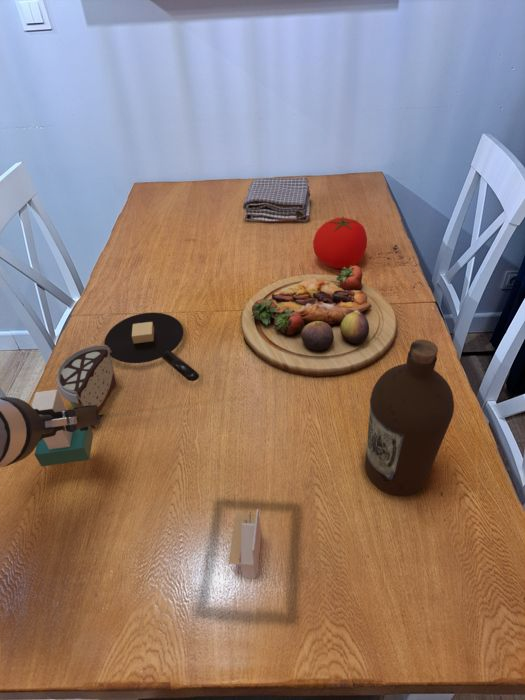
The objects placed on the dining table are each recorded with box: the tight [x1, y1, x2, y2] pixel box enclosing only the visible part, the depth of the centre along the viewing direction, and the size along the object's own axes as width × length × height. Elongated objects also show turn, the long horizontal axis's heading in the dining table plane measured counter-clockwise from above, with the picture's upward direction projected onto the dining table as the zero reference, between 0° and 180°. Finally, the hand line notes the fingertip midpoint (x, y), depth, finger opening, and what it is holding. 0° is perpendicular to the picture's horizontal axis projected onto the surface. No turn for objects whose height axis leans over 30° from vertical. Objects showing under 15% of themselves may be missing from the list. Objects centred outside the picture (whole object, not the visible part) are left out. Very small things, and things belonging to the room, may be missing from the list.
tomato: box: [312, 216, 368, 270], centre depth 116 cm, size 12×13×11 cm
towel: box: [242, 177, 311, 223], centre depth 139 cm, size 15×18×8 cm
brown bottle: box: [364, 339, 455, 497], centre depth 67 cm, size 11×11×25 cm
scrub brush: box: [31, 389, 94, 467], centre depth 71 cm, size 5×7×11 cm
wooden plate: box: [240, 265, 398, 377], centre depth 100 cm, size 32×32×8 cm
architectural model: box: [228, 508, 262, 579], centre depth 64 cm, size 3×7×7 cm, turn 175°
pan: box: [103, 312, 200, 382], centre depth 97 cm, size 26×16×2 cm, turn 43°
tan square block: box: [132, 322, 154, 344], centre depth 99 cm, size 4×4×2 cm
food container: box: [56, 344, 118, 429], centre depth 84 cm, size 12×6×10 cm, turn 168°
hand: (64, 417), depth 75 cm, fingers closed on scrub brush, 7 cm apart
